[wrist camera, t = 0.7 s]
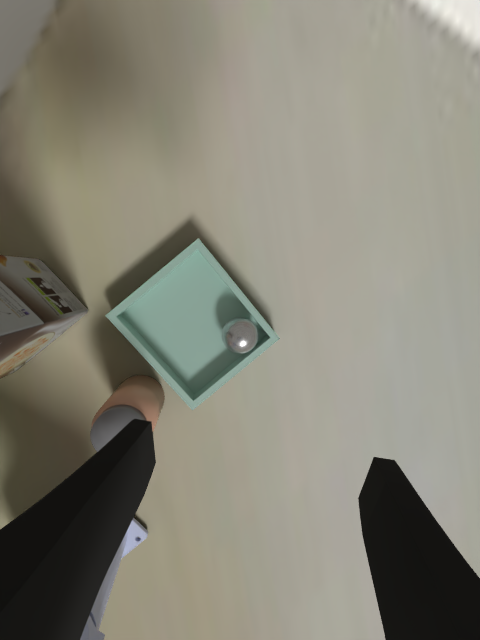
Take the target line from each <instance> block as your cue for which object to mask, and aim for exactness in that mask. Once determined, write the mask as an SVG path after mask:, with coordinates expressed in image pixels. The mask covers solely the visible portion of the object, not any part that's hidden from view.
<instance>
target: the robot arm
mask: <svg viewBox="0 0 480 640" xmlns="http://www.w3.org/2000/svg"><path fill="white" fill-rule="evenodd" d="M155 463H156V461H155V451H154V441H153V431H152V421H146V420H140V419H133V420H132V421H130V422H129V423H128V424H127V425H126V426H125V427H124V428H123V429H122V430H121V431H120V432H119V433H118V434H117V435H115V436H114V437H113V438H112V439H111V440H110V441H109V442H108V443H107V444H106V445H105V446H103V447H102V448H101V449H100V450H99V451H98V452H97V453H96V454H95V455H93V456H92V457H91V458H90V459H89V460H88V461H87V462H86V463H84V464H83V465H82V466H81V467H80V468H79V469H78V470H76V471H75V472H74V473H73V474H72V475H71V476H69V477H68V478H67V479H66V480H64V481H63V482H62V483H61V484H59V485H58V486H57V487H56V488H55V489H53V490H52V491H51V492H50V493H48V494H47V495H46V496H45V497H43V498H42V499H41V500H40V501H38V502H37V503H36V504H34V505H33V506H32V507H30V508H29V509H28V510H26V511H25V512H24V513H22V514H21V515H20V516H18V517H17V518H16V519H14V520H13V521H11V522H10V523H9V524H7V525H6V526H5V527H3V528H2V529H0V640H104V637H105V635H104V634H103V633H102V632H100V631H99V627H100V624H101V621H102V617H103V614H104V611H105V608H106V605H107V602H108V599H109V596H110V592H111V589H112V586H113V583H114V580H115V577H116V574H117V571H118V567H119V564H120V561H121V558H123V557H124V556H125V555H126V554H128V553H129V552H130V551H131V550H132V549H134V548H135V547H136V546H137V545H139V544H140V543H141V542H142V541H143V540H145V539H146V538H147V535H148V531H147V530H146V529H145V528H144V527H143V526H142V525H141V524H140V523H139V522H138V521H137V520H136V519H135V518H134V515H135V513H136V511H137V509H138V507H139V505H140V503H141V501H142V498H143V496H144V494H145V491H146V489H147V486H148V483H149V481H150V478H151V475H152V472H153V469H154V466H155ZM358 499H359V509H360V518H361V526H362V534H363V539H364V544H365V548H366V553H367V557H368V562H369V566H370V571H371V575H372V580H373V584H374V588H375V593H376V597H377V602H378V606H379V611H380V615H381V619H382V624H383V628H384V633H385V638H386V640H480V578H479V577H478V576H477V574H476V573H475V572H474V571H473V569H472V568H471V567H470V565H469V564H468V563H467V562H466V560H465V559H464V558H463V556H462V555H461V554H460V552H459V551H458V550H457V548H456V547H455V546H454V544H453V543H452V541H451V540H450V539H449V537H448V536H447V535H446V533H445V532H444V531H443V529H442V528H441V526H440V525H439V524H438V522H437V521H436V519H435V518H434V517H433V515H432V514H431V512H430V511H429V510H428V508H427V507H426V505H425V504H424V502H423V501H422V499H421V498H420V497H419V495H418V494H417V492H416V491H415V489H414V488H413V486H412V485H411V483H410V482H409V480H408V479H407V477H406V476H405V474H404V473H403V471H402V470H401V469H400V467H399V466H398V464H397V463H396V461H395V460H390V459H383V458H377V457H374V458H373V461H372V464H371V466H370V469H369V472H368V474H367V477H366V479H365V482H364V485H363V487H362V490H361V493H360V495H359V498H358ZM137 537H140V538H137Z"/></svg>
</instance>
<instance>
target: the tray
mask: <svg viewBox="0 0 480 640" xmlns="http://www.w3.org/2000/svg"><path fill="white" fill-rule="evenodd" d="M105 316H106V317H107V318H108V319H109V320H110V321H111V322H112V323H113V325H114V326H115V327H116V328H117V329H118V330H119V331H120V332H121V333H122V334H123V335H124V336H125V338H126V339H127V340H128V341H129V342H130V343H131V344H132V345H133V346H134V347H135V348H136V349H137V351H138V352H139V353H140V354H141V355H142V356H143V357H144V358H145V359H146V360H147V361H148V363H149V364H150V365H151V366H152V367H153V368H154V369H155V370H156V371H157V372H158V373H159V374H160V376H161V377H162V378H163V379H164V380H165V381H166V382H167V383H168V384H169V385H170V386H171V387H172V389H173V390H174V391H175V392H176V393H177V394H178V395H179V396H180V397H181V398H182V399H183V401H184V402H185V403H186V404H187V405H188V406H189V407H190V408H191V409H192V410H194V409H195V408H196V407H197V406H198V405H200V404H201V403H202V402H203V401H205V400H206V399H207V398H208V397H209V396H211V395H212V394H213V393H214V392H215V391H217V390H218V389H219V388H220V387H222V386H223V385H224V384H225V383H226V382H228V381H229V380H230V379H231V378H232V377H234V376H235V375H236V374H237V373H239V372H240V371H241V370H242V369H243V368H245V367H246V366H247V365H248V364H249V363H251V362H252V361H253V360H254V359H256V358H257V357H258V356H259V355H260V354H262V353H263V352H264V351H265V350H266V349H268V348H269V347H270V346H271V345H273V344H274V343H275V342H276V341H277V340H279V339H280V338H279V337H278V336H277V334H276V333H275V332H274V331H273V329H272V328H271V327H270V326H269V324H268V323H267V322H266V321H265V320H264V318H263V317H262V316H261V315H260V313H259V312H258V311H257V310H256V308H255V307H254V306H253V305H252V304H251V302H250V301H249V300H248V299H247V297H246V296H245V295H244V294H243V292H242V291H241V290H240V289H239V287H238V286H237V285H236V284H235V283H234V281H233V280H232V279H231V278H230V276H229V275H228V274H227V273H226V271H225V270H224V269H223V268H222V267H221V265H220V264H219V263H218V262H217V260H216V259H215V258H214V257H213V255H212V254H211V253H210V252H209V251H208V249H207V248H206V247H205V246H204V244H203V243H202V242H201V241H200V239H199V238H198V239H197V240H196V241H194V242H193V243H192V244H191V245H190V246H188V247H187V248H186V249H185V250H184V251H182V252H181V253H180V254H179V255H178V256H176V257H175V258H174V259H173V260H172V261H170V262H169V263H168V264H167V265H166V266H164V267H163V268H162V269H161V270H160V271H158V272H157V273H156V274H155V275H154V276H152V277H151V278H150V279H149V280H148V281H146V282H145V283H144V284H143V285H142V286H140V287H139V288H138V289H137V290H136V291H134V292H133V293H132V294H131V295H130V296H128V297H127V298H126V299H125V300H124V301H122V302H121V303H120V304H119V305H118V306H116V307H115V308H114V309H113V310H111V311H110V312H109V313H108V314H107V315H105ZM235 317H245V318H248V319H250V320H251V321H252V322H253V323H254V324H255V325H256V327H257V329H258V334H259V336H258V341H257V344H256V345H255V347H254V348H253V349H252V350H250V351H249V352H247V353H243V354H238V353H234V352H231V351H230V350H228V349H227V348H226V346H225V345H224V343H223V341H222V330H223V327H224V325H225V324H226V323H227V322H228V321H229V320H230V319H232V318H235Z"/></svg>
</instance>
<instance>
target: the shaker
mask: <svg viewBox="0 0 480 640" xmlns="http://www.w3.org/2000/svg"><path fill="white" fill-rule="evenodd" d="M164 400H165V396H164V391H163V388H162V387H161V385H160V384H159V383H158V382H157V381H156V380H155V379H153V378H151V377H149V376H145V375H135V376H132V377H129V378H128V379H126V380H125V381H124V382H122V384H121V385H120V386H119V387H118V388H117V389H116V391H115V392H114V393H113V394H112V395H111V396H110V398H109V399H108V400H107V401H106V402H105V403H104V405H103V406H102V407H101V408H100V409H99V411H98V412H97V413H96V415H95V416H94V419H93V421H92V428H91V434H90V435H91V442H92V445H93V447H94V448H95V450H96V451H97V452H98V451H99V450H100V449H101V448H102V447H103V446H105V445H106V444H107V443H108V442H109V441H110V440H111V439H112V438H113V437H114V436H115V435H117V434H118V433H119V432H120V431H121V430H122V429H123V428H124V427H125V426H126V425H127V424H128V423H129V422H130V421H132V420H133V419H140V420H146V421H152V431H154V428H155V426H156V423H157V420H158V418H159V415H160V412H161V410H162V407H163V404H164Z"/></svg>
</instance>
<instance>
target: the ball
mask: <svg viewBox="0 0 480 640" xmlns="http://www.w3.org/2000/svg"><path fill="white" fill-rule="evenodd" d="M258 336H259V334H258V329H257V327H256V325H255V324H254V323H253V322H252V321H251V320H250V319H248V318H245V317H235V318H232V319H230V320H229V321H228V322H227V323H226V324H225V325H224V327H223V330H222V341H223V343H224V345H225V346H226V348H227V349H228V350H230V351H231V352H234V353H238V354H243V353H247V352H249V351H250V350H252V349H253V348H254V347H255V345H256V344H257V341H258Z"/></svg>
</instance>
